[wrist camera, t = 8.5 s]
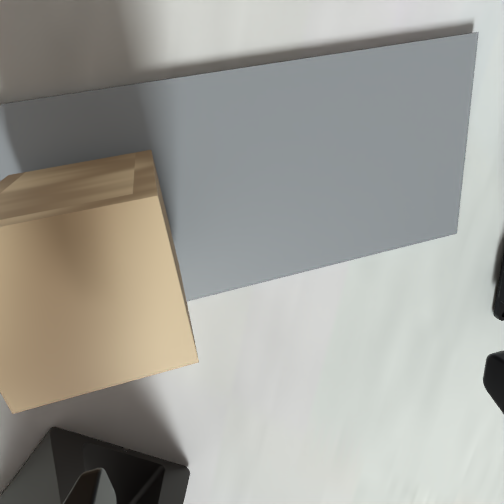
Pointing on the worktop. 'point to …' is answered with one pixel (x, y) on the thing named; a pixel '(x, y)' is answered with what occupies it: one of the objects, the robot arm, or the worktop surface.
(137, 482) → the phone stand
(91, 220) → the wooden block
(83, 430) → the worktop surface
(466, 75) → the board
